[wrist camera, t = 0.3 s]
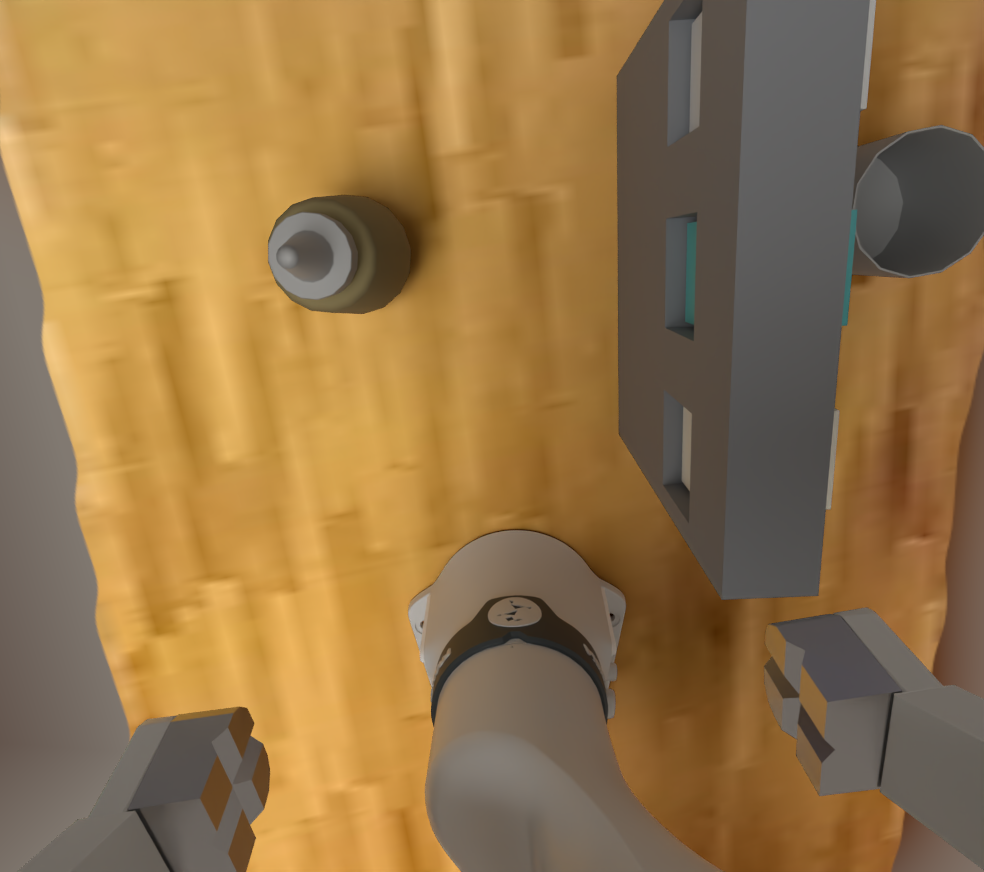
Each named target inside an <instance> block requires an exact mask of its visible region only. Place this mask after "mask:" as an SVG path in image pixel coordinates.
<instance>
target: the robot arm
mask: <svg viewBox="0 0 984 872" xmlns="http://www.w3.org/2000/svg"><path fill="white" fill-rule="evenodd" d="M625 611H626V601H625V596H624V594H623V593H622V592H621V591H620V590H619V589H617V588H616V587H614V586H613V585H611V584H609V583H607V582H605V581H603V580H601V579H600V578H598V577H597V576H596V575H595V574H594V573H593V572H592V571H591V569H590V568H589V567H588V565H587V564H586V563H585V562H584V560H583V559H582V558H581V557H580V556H579V555H578V554H577V553H576V552H575V551H574V550H572V549H571V548H570V547H569V546H567V545H566V544H564V543H562V542H561V541H559V540H557V539H555V538H552V537H550V536H547V535H544V534H541V533H537V532H532V531H524V530H510V531H501V532H496V533H492V534H489V535H486V536H483V537H481V538H478V539H476V540H474V541H472V542H471V543H469V544H467V545H466V546H464V547H463V548H462V549H461V550H459V551H458V552H457V553H456V554H455V555H454V556H453V557H452V558H451V559H450V560H449V562H448V563H447V564H446V566H445V567H444V569H443V570H442V572H441V574H440V575H439V577H438V578H437V580H436V581H435V582H434V584H433V585H432V586H430V587H428V588H427V589H425V590H424V591H422V592H421V593H419V594H418V595H417V596H416V597H414V598H413V599H412V601H411V602H410V604H409V608H408V617H409V620H410V623H411V626H412V629H413V632H414V635H415V638H416V641H417V644H418V647H419V650H420V660H421V662H423V663H424V666H425V669H426V672H427V675H428V678H429V681H430V684H431V687H432V689H431V702H432V705H431V717H432V722H433V727H434V730H433V736H432V743H431V750H430V756H429V763H428V770H427V777H426V783H425V801H426V810H427V814H428V818H429V821H430V825H431V827H432V830H433V832H434V834H435V836H436V838H437V840H438V841H439V843H440V845H441V846H442V848H443V849H444V850H445V852H446V853H447V854H448V856H449V857H450V858H451V860H452V861H453V862H454V863H455V865H456V866H457V867H458V868H459V869H460V871H461V872H724V871H722V870H721V869H719V868H717V867H716V866H714V865H713V864H711V863H710V862H708V861H707V860H705V859H703V858H702V857H701V856H699V855H698V854H697V853H695V852H694V851H693V850H691V849H690V848H688V847H687V846H686V845H684V844H683V843H682V842H681V841H680V840H678V839H677V838H676V837H675V836H674V835H673V834H671V833H670V832H669V831H668V830H667V829H666V828H665V827H664V826H663V825H661V824H660V823H659V822H658V821H657V820H656V819H655V818H654V817H653V816H652V815H651V814H650V813H649V812H648V810H647V809H646V808H645V807H644V806H643V805H642V804H641V803H640V802H639V800H638V799H637V798H636V796H635V795H634V794H633V792H632V791H631V789H630V788H629V786H628V785H627V783H626V781H625V779H624V777H623V775H622V773H621V770H620V767H619V765H618V762H617V759H616V756H615V752H614V749H613V746H612V743H611V739H610V736H609V732H608V728H607V719H611V718H613V717H614V714H615V704H616V701H615V692H614V690H612V689H608V688H609V684H610V681H616V678H617V665H616V663H614V661H615V656H616V652H617V647H618V643H619V638H620V634H621V629H622V624H623V620H624V615H625ZM610 613H612V614H613V616H612V617H610ZM422 621H424V624H423V623H422ZM765 645H766V647H767V649H768V650H769V652H770V654H771V655H772V657H771V658H770V660H769V661H768V662H767V663H766V665H765V666H764V684H765V689H766V693H767V698H768V702H769V704H770V707H771V709H772V712H773V714H774V716H775V718H776V720H777V722H778V724H779V726H780V728H781V729H782V730H783V731H784V732H786V733H788V734H789V735H791V736H792V737H794V738H796V739H797V747H796V756H797V758H798V760H799V761H800V763H801V765H802V767H803V768H804V770H805V772H806V774H807V775H808V777H809V779H810V781H811V782H812V784H813V786H814V788H815V789H816V791H817V793H818V795H819V796H824V795H832V794H840V793H849V792H857V791H865V790H873V789H880V792H881V793H882V794H883V795H885V796H886V797H887V798H889V799H890V800H891V801H893V802H894V803H895V804H897V805H898V806H899V807H901V808H902V809H903V810H905V811H906V812H907V813H909V814H910V815H911V816H913V817H914V818H915V819H917V820H918V821H919V822H921V823H922V824H923V825H925V826H926V827H927V828H929V829H930V830H931V831H933V832H934V833H935V834H937V835H938V836H939V837H941V838H942V839H943V840H945V841H946V842H947V843H948V844H950V845H951V846H952V847H954V848H955V849H956V850H958V851H959V852H961V853H962V854H963V855H964V856H966V857H967V858H968V859H970V860H971V861H973V862H974V863H975V864H976V865H978V866H979V867H980V868H982V869H983V870H984V699H983V698H981V697H979V696H977V695H974V694H972V693H970V692H968V691H966V690H963V689H962V688H959V687H957V686H955V685H950V686H943V685H942V684H941V683H940V682H939V681H938V680H937V679H936V678H935V677H934V676H933V674H932V673H931V672H930V671H929V670H928V669H927V668H926V667H925V666H924V665H923V664H922V662H921V661H920V660H919V659H918V658H917V657H916V656H915V655H914V654H913V653H912V652H911V651H910V649H909V648H908V647H907V646H906V645H905V644H904V643H903V642H902V641H901V640H900V639H899V637H898V636H897V635H896V634H895V633H894V632H893V631H892V630H891V629H890V628H889V627H888V626H887V624H886V623H885V622H884V621H883V620H882V619H881V618H880V617H879V616H878V615H877V614H876V612H875V611H873V610H871V609H869V608H861V609H855V610H849V611H843V612H837V613H834V614H826V615H820V616H814V617H808V618H802V619H796V620H790V621H784V622H778V623H772V624H768V626H767V629H766V631H765ZM253 726H254V721H253V719H252V717H251V715H250V713H249V711H248V709H247V708H244V707H233V708H225V709H218V710H210V711H202V712H194V713H187V714H179V715H178V716H170V717H161V718H153V719H147V720H146V721H144V722H143V723H142V724H141V725H139V726H138V728H137V729H136V731H135V733H134V735H133V736H132V738H131V740H130V742H129V744H128V746H127V747H126V749H125V751H124V753H123V755H122V756H121V758H120V760H119V762H118V764H117V766H116V767H115V769H114V771H113V773H112V775H111V776H110V778H109V780H108V782H107V784H106V786H105V787H104V789H103V791H102V793H101V795H100V796H99V798H98V800H97V802H96V804H95V805H94V807H93V809H92V811H91V813H90V815H89V817H88V818H83V819H78V820H76V821H75V822H74V823H73V824H72V825H71V826H69V827H68V828H67V829H66V830H65V831H64V832H62V833H61V834H60V835H59V836H58V837H57V838H55V839H54V840H53V841H52V842H51V843H50V844H49V845H47V846H46V847H45V848H44V849H43V850H41V851H40V852H39V853H38V854H37V855H36V856H35V857H33V858H32V859H31V860H30V861H29V862H28V863H26V864H25V865H24V866H23V867H22V868H21V869H20V870H18V871H17V872H246V870H247V867H248V863H249V860H250V856H251V853H252V849H253V846H254V843H255V839H256V837H255V835H254V833H253V830H252V828H251V826H250V824H251V823H252V822H253V821H254V820H255V819H256V818H257V816H258V815H259V814H260V813H261V812H262V811H263V810H264V808H265V804H266V800H267V796H268V793H269V781H270V766H269V761H268V755H267V753H266V750H265V748H264V745H263V744H262V743H261V742H259V741H258V740H256V739H255V738H253V737H251V736H250V735H251V732H252V729H253Z"/></svg>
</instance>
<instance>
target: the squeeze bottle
mask: <svg viewBox="0 0 984 872" xmlns="http://www.w3.org/2000/svg"><path fill="white" fill-rule="evenodd" d="M410 259H411V248H410V245H409V242H408V239H407V236H406V233H405V230H404V227H403V226H402V224H401V223H400V222H399V221H398V220H397V218H396V217H395V216H394V215H393V214H392V212H391V211H390V210H389V209H388V208H387V207H385V206H383V205H381V204H379V203H377V202H375V201H374V200H372V199H370V198H368V197H361V196H350V195H338V196H326V197H314V198H310V199H307V200H304V201H301V202H298V203H296V204H293V205H291V206H290V207H289V208H288V209H287V210H286V211H285V212H284V213H283V214H282V215H281V216H280V217H279V218H278V219H277V220H276V222H275V225H274V227H273V230H272V232H271V235H270V237H269V240H268V263H269V265H270V268H271V270H272V273H273V276H274V278H275V281H276V283H277V285H278V286H279V287H280V288H281V289H282V290H283V291H284V292H285V294H286V295H287V296H288V297H289V298H290V299H291V300H292V301H294V302H296V303H297V304H299V305H301V306H303V307H305V308H307V309H309V310H311V311H321V312H331V313H353V314H365V313H368V312H371V311H374V310H377V309H380V308H383V307H385V306H386V305H387V304H388V303H389V302H390V301H392V300H393V299H394V298H395V297H396V296H397V295H398V294H400V292H401V290H402V288H403V286H404V284H405V282H406V280H407V277H408V275H409V273H410Z"/></svg>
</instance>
